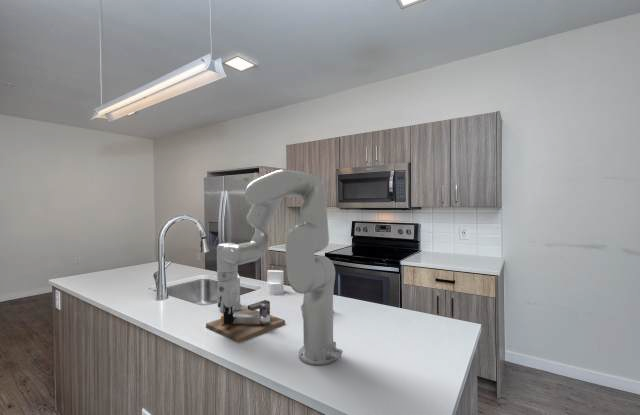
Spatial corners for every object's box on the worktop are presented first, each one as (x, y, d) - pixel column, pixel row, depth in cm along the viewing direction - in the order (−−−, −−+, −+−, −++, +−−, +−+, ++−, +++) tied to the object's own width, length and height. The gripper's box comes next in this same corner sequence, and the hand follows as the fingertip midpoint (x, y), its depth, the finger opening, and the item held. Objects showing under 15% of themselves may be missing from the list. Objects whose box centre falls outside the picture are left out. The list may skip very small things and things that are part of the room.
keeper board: (285, 323, 123) (284, 304, 123) (239, 343, 106) (238, 320, 106) (251, 311, 137) (251, 294, 137) (206, 327, 120) (205, 307, 120)
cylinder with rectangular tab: (285, 290, 170) (285, 269, 170) (280, 295, 161) (280, 273, 161) (270, 289, 172) (270, 268, 172) (264, 294, 163) (264, 272, 163)
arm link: (271, 321, 120) (271, 302, 120) (268, 326, 116) (268, 306, 116) (224, 320, 122) (224, 301, 122) (220, 325, 118) (220, 305, 117)
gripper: (227, 280, 108) (228, 331, 108) (244, 271, 123) (245, 316, 123) (208, 279, 109) (209, 330, 109) (227, 271, 124) (228, 315, 124)
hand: (228, 323), depth 116 cm, fingers closed
